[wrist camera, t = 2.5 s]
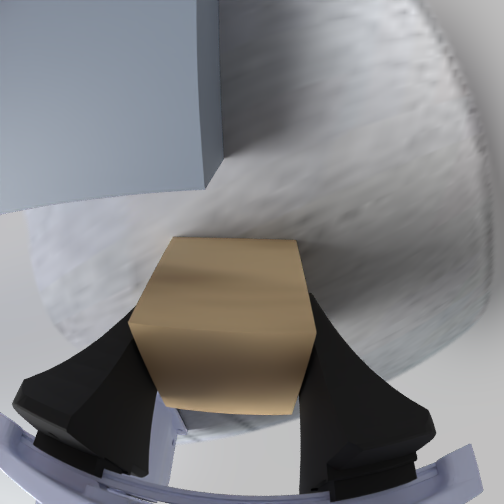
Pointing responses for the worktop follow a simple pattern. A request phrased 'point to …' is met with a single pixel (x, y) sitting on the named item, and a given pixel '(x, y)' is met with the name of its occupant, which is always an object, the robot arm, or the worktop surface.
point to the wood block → (226, 325)
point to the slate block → (107, 99)
